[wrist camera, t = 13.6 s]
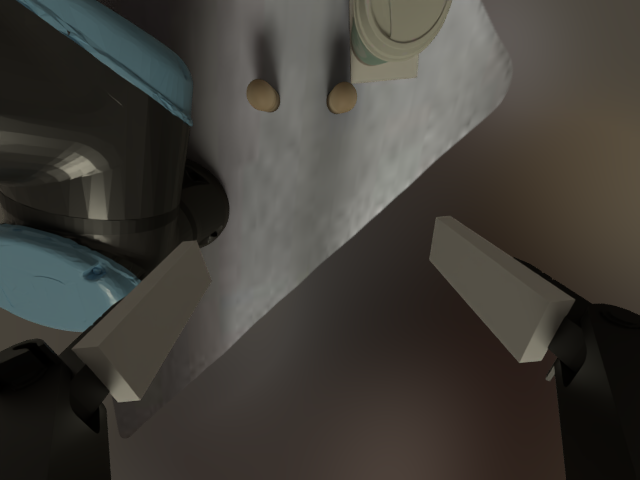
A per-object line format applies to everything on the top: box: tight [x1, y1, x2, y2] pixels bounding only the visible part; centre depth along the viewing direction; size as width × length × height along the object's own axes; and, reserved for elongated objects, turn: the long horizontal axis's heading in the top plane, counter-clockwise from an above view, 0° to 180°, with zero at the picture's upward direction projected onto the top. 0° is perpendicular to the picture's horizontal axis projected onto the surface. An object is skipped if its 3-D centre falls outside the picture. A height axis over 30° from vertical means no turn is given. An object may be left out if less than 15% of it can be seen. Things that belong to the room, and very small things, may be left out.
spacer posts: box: [247, 79, 357, 114], centre depth 26 cm, size 14×20×7 cm
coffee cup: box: [351, 0, 452, 66], centre depth 24 cm, size 8×8×12 cm
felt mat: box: [349, 0, 419, 84], centre depth 30 cm, size 9×9×1 cm
